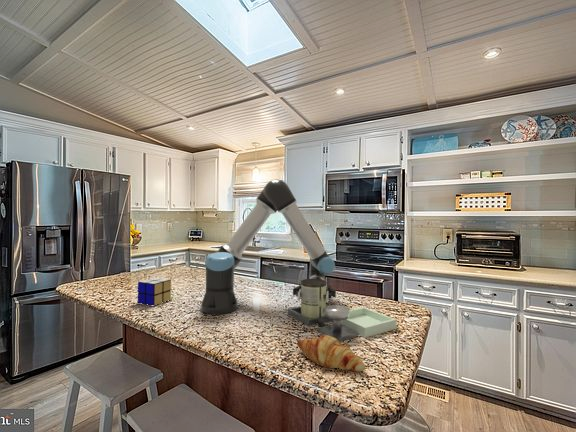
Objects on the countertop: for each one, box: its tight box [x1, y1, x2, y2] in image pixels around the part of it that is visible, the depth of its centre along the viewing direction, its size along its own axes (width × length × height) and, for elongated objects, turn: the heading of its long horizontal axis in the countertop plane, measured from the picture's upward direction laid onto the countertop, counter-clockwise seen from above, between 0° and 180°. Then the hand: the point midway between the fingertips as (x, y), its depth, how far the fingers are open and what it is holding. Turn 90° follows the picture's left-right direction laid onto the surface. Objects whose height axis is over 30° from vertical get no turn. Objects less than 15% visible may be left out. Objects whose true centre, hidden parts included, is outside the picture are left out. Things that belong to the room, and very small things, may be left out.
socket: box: [287, 306, 333, 327], centre depth 115 cm, size 15×15×2 cm
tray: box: [342, 306, 398, 339], centre depth 106 cm, size 16×16×3 cm
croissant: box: [297, 334, 366, 372], centre depth 80 cm, size 21×10×8 cm, turn 54°
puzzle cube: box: [137, 277, 172, 306], centre depth 131 cm, size 10×10×10 cm
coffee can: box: [300, 278, 328, 319], centre depth 115 cm, size 10×10×14 cm
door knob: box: [316, 304, 359, 342], centre depth 101 cm, size 10×15×9 cm, turn 31°
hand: (312, 298), depth 111 cm, fingers open, 10 cm apart
